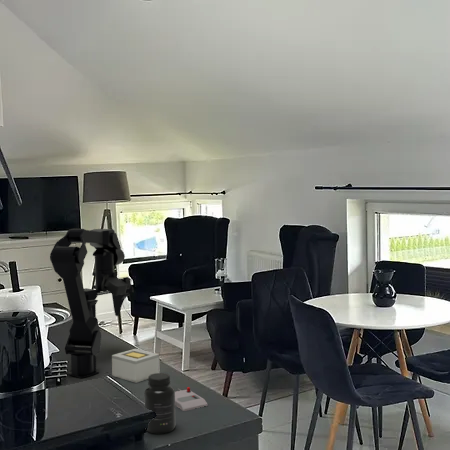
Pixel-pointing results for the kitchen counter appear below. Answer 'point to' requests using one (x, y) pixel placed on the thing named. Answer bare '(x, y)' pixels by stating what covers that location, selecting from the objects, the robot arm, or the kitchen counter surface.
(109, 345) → the kitchen counter surface
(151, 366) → the coin box
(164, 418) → the supplement bottle
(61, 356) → the kitchen counter surface
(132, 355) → the yellow rectangular block
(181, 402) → the white control pad
